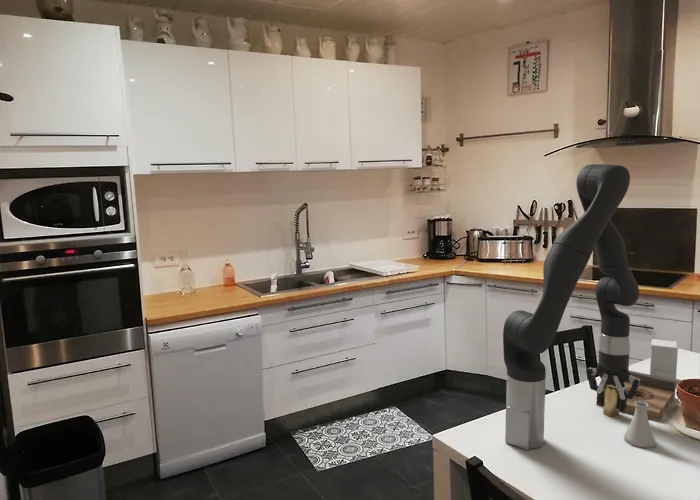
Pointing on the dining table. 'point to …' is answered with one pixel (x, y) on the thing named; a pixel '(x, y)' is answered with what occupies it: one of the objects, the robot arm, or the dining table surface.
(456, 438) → the dining table surface
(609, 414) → the gold upright block
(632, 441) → the flask
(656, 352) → the supplement box
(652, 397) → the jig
